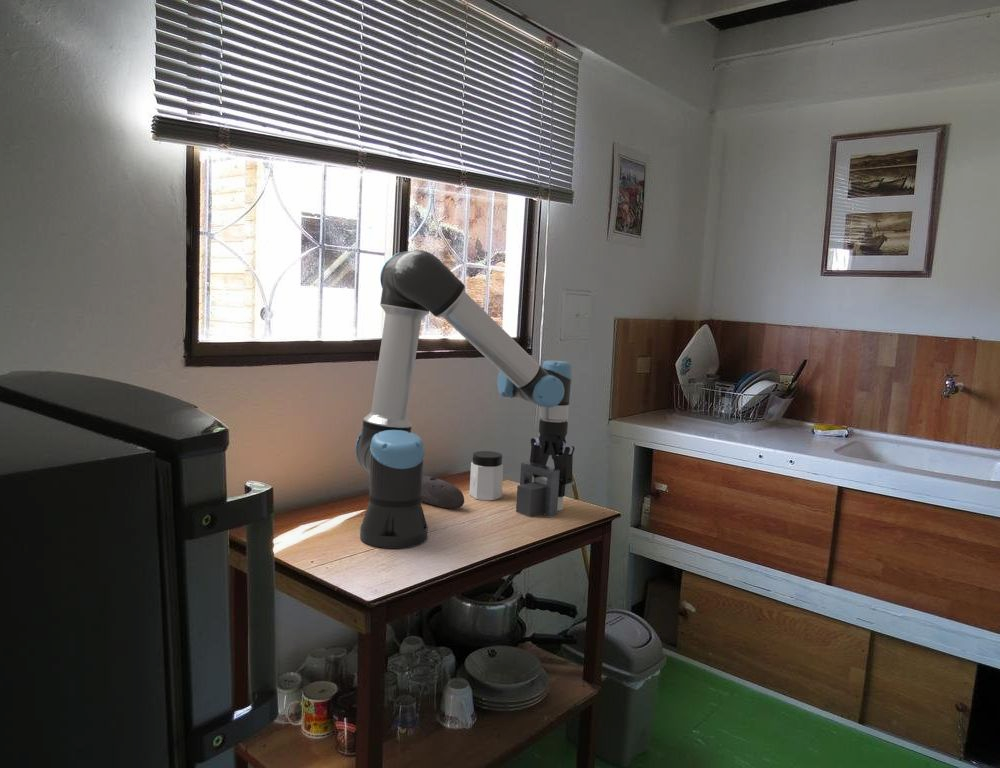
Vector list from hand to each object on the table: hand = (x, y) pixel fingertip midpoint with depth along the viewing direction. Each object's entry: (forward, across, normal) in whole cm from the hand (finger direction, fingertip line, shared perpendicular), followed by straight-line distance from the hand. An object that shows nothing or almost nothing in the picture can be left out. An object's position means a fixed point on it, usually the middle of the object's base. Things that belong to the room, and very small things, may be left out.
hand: (548, 504), depth 189 cm
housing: (+1, 0, +4) cm, 4 cm away
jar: (+1, +18, +7) cm, 19 cm away
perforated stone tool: (+1, +18, +23) cm, 29 cm away
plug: (+1, 0, +3) cm, 3 cm away
